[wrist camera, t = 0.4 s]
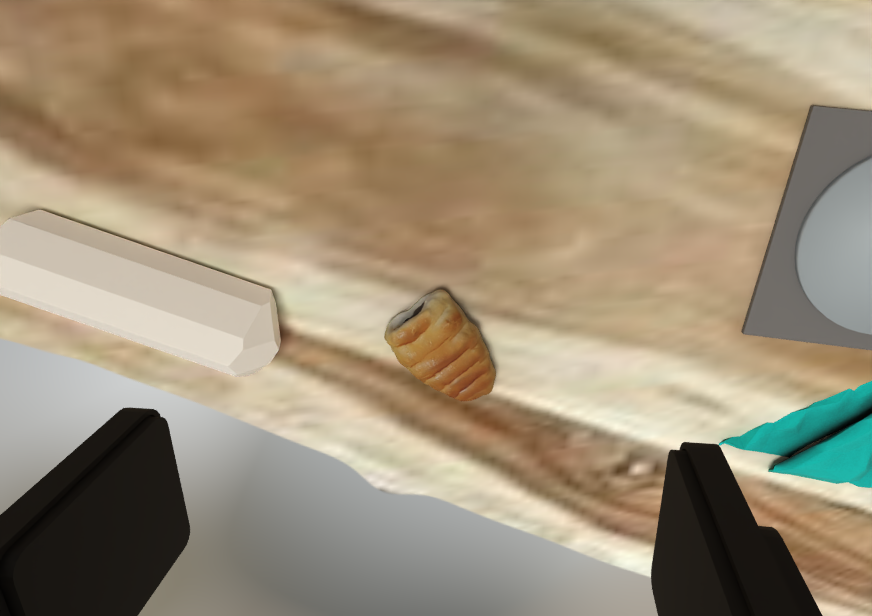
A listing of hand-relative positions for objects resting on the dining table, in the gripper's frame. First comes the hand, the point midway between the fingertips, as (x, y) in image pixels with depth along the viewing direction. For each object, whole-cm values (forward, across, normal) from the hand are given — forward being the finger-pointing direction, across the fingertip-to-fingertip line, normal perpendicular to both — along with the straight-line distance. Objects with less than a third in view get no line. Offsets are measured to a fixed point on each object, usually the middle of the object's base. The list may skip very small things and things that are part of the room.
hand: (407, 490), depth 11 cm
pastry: (+36, +4, +14) cm, 39 cm away
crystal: (+36, +28, +10) cm, 47 cm away
